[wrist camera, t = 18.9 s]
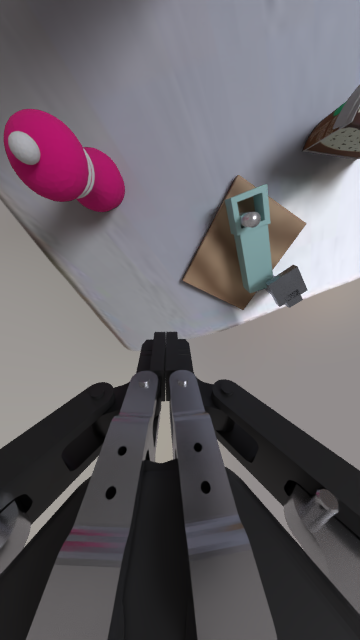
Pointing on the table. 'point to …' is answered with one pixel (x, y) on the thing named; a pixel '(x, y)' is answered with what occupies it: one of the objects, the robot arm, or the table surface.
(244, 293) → the board
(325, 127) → the food container
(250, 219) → the capsule
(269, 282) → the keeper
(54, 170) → the pepper mill
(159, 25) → the table surface
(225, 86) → the table surface
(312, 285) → the table surface
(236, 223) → the teal bar with hole
